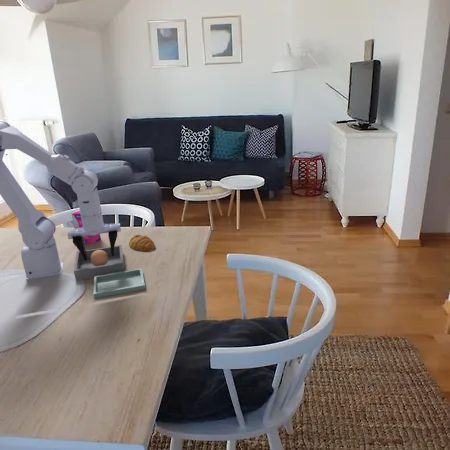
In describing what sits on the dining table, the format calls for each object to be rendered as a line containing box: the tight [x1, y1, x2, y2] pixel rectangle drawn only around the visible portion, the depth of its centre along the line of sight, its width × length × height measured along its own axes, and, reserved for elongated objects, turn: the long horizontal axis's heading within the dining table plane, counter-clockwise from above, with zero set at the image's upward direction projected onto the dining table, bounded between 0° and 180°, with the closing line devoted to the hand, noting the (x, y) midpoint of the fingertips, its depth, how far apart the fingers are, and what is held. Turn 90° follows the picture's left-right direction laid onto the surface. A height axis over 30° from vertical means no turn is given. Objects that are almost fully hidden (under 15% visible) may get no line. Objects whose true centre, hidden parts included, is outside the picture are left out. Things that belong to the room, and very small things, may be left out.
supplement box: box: [71, 209, 102, 245], centre depth 139 cm, size 6×6×12 cm
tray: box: [92, 268, 146, 299], centre depth 111 cm, size 13×10×2 cm
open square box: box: [73, 244, 126, 281], centre depth 122 cm, size 13×13×4 cm
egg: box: [90, 250, 108, 266], centre depth 121 cm, size 5×5×5 cm
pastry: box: [128, 234, 156, 252], centre depth 134 cm, size 9×7×4 cm
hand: (99, 256), depth 121 cm, fingers open, 7 cm apart
